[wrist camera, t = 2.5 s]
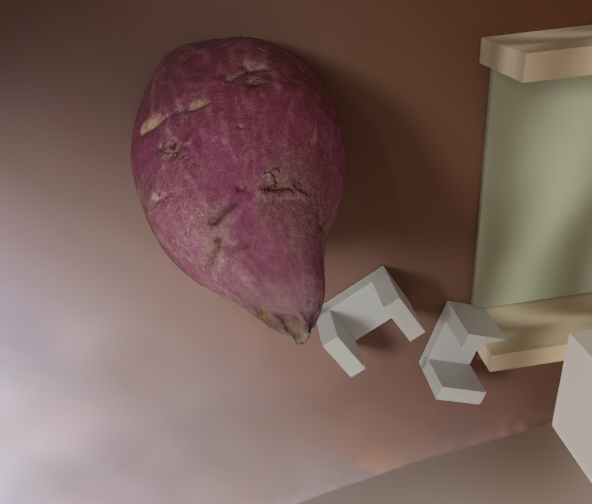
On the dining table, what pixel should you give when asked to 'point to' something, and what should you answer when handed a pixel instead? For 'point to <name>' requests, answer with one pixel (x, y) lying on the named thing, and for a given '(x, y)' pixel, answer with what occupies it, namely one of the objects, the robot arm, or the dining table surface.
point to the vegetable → (243, 175)
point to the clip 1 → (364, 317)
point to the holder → (536, 195)
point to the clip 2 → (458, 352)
